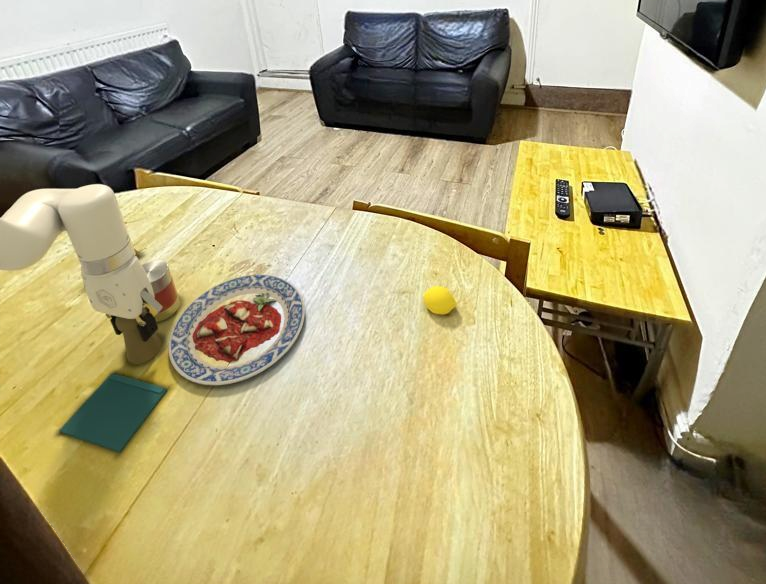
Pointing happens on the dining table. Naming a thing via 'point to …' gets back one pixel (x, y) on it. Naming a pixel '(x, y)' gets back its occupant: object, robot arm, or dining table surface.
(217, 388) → the dining table surface
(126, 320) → the brown pepper mill
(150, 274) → the tin can
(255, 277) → the ceramic plate
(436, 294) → the lemon
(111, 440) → the notepad
